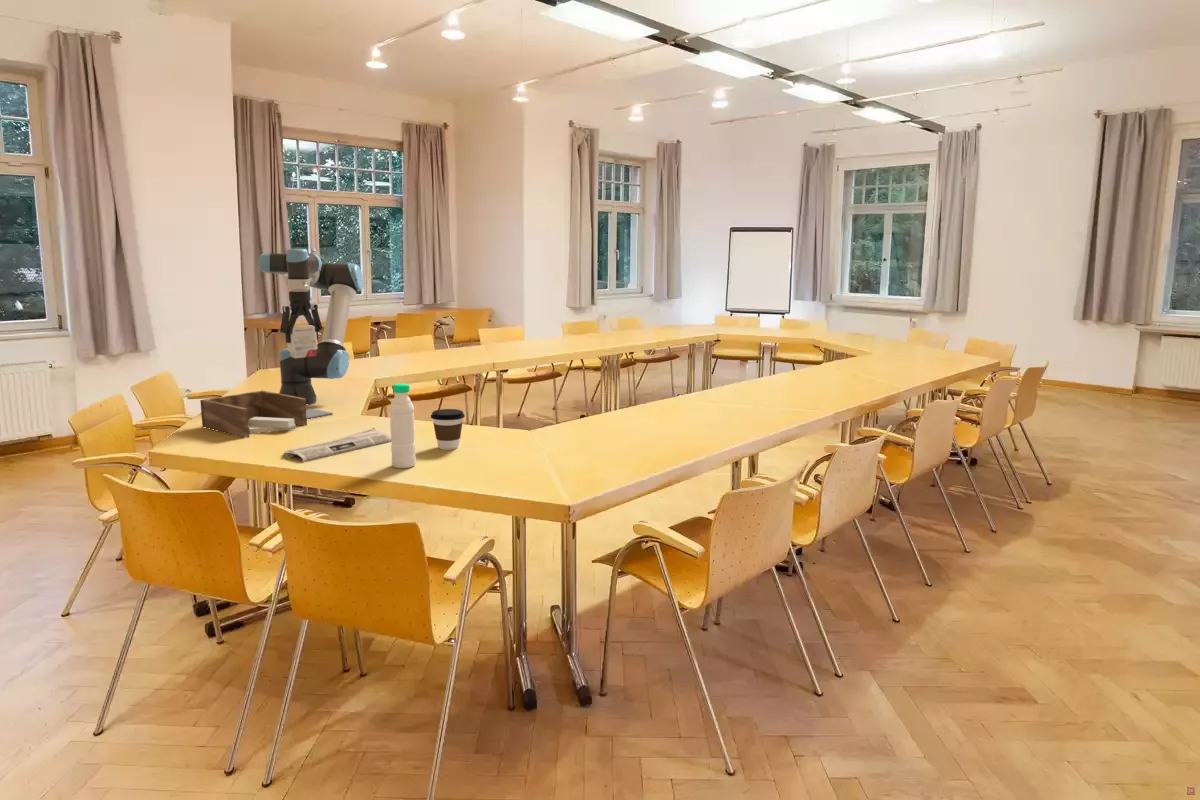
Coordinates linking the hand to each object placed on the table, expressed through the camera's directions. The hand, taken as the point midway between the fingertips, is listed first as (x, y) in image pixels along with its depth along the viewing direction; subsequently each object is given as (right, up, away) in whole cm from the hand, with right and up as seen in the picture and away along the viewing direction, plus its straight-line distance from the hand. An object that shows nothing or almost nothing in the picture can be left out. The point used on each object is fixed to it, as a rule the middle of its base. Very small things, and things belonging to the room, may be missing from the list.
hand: (302, 350), depth 302 cm
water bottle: (+54, -39, -62) cm, 91 cm away
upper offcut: (-3, -28, -21) cm, 35 cm away
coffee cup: (+63, -35, -40) cm, 82 cm away
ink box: (0, -3, +1) cm, 3 cm away
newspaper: (+28, -35, -43) cm, 62 cm away
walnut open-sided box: (-12, -29, -15) cm, 34 cm away
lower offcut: (-3, -30, -20) cm, 37 cm away
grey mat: (0, -25, +5) cm, 25 cm away
